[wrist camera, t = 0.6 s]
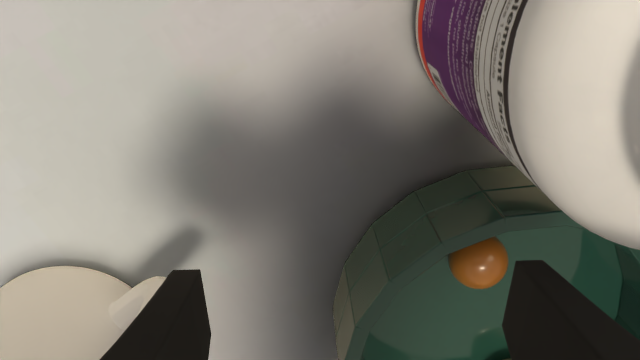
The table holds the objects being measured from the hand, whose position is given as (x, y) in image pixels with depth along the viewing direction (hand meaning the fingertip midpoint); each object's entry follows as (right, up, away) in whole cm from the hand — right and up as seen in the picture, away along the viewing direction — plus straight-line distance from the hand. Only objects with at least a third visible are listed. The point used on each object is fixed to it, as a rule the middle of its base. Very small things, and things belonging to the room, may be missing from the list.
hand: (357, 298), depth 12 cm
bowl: (+7, -3, +13) cm, 15 cm away
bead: (+6, -1, +10) cm, 11 cm away
